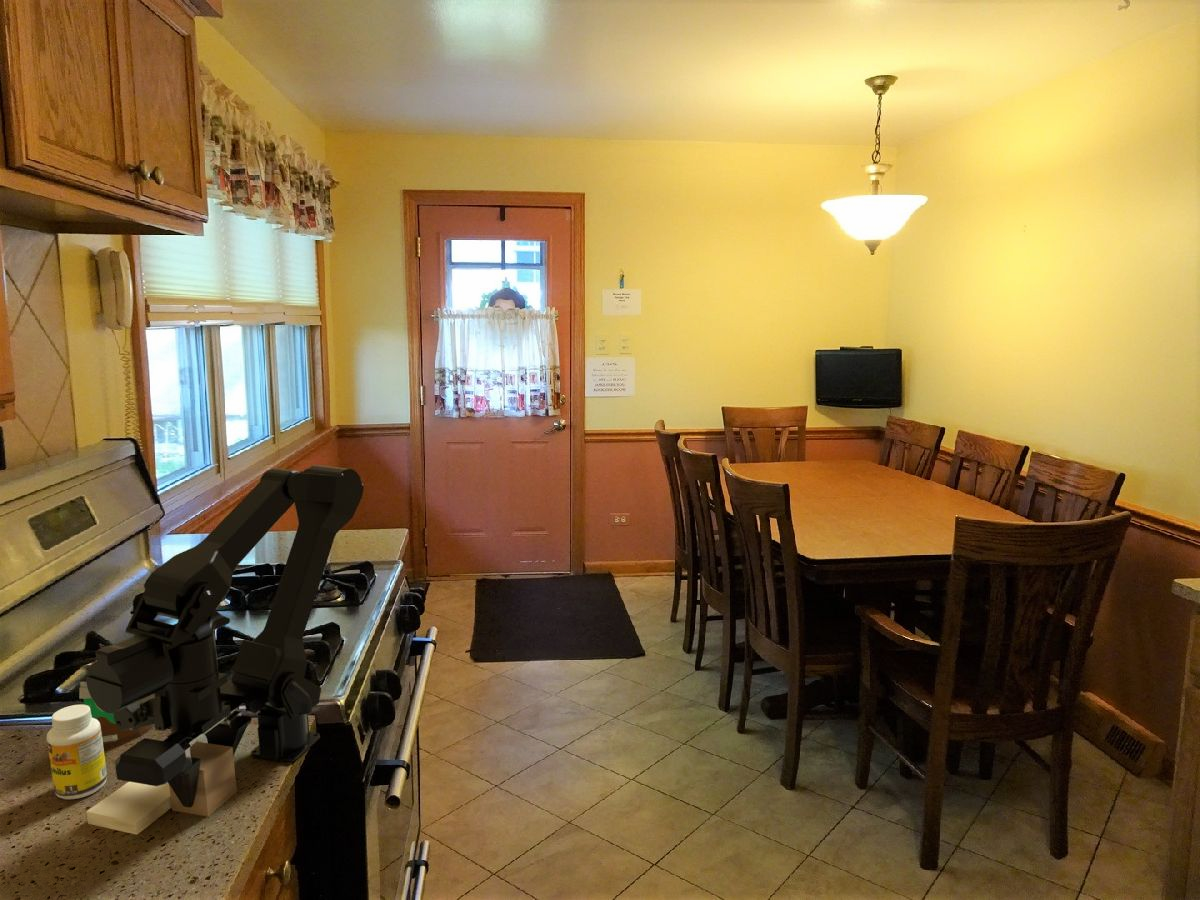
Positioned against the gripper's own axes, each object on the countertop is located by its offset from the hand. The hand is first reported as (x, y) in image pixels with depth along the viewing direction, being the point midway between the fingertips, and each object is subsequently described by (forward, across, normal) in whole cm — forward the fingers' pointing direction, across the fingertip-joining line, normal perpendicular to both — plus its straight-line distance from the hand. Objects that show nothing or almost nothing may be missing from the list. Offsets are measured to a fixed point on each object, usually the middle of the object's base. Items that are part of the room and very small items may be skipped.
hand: (204, 792), depth 99 cm
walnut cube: (+1, 0, 0) cm, 1 cm away
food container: (+1, -12, -20) cm, 24 cm away
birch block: (+2, +4, -6) cm, 8 cm away
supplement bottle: (+1, +2, -16) cm, 17 cm away
